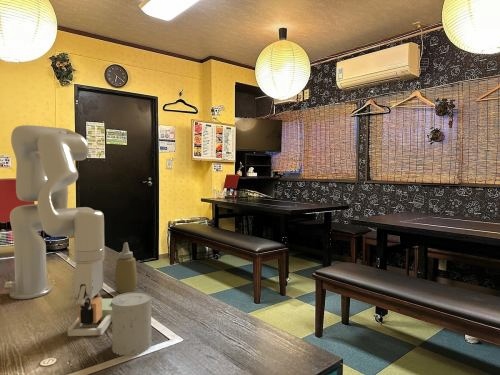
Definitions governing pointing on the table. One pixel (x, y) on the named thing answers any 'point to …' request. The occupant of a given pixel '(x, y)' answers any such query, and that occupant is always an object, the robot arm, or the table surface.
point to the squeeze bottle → (125, 271)
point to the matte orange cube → (94, 309)
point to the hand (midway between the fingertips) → (90, 318)
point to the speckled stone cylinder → (131, 323)
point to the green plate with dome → (105, 319)
